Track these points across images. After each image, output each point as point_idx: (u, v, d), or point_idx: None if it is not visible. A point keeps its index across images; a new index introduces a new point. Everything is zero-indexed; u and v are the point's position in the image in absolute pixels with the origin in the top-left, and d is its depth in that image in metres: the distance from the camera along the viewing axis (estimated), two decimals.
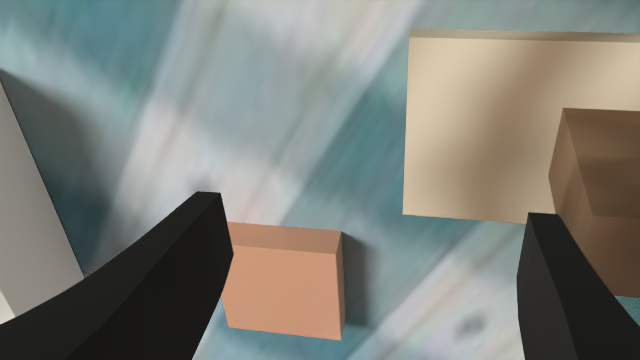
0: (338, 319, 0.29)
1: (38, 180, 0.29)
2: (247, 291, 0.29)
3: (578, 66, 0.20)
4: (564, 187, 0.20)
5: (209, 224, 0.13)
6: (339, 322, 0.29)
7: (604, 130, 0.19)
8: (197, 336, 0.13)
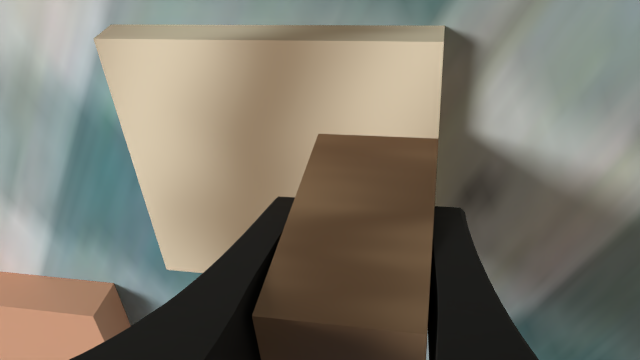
0: None
1: None
2: (11, 355, 0.23)
3: (321, 76, 0.14)
4: None
5: None
6: None
7: (354, 168, 0.14)
8: None
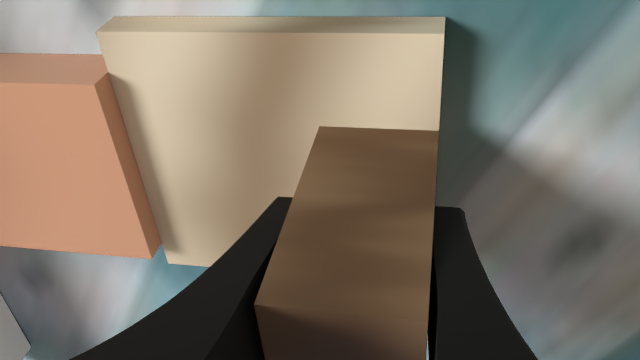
0: (137, 219, 0.17)
1: None
2: None
3: (322, 68, 0.14)
4: None
5: None
6: (141, 225, 0.17)
7: (355, 159, 0.14)
8: None
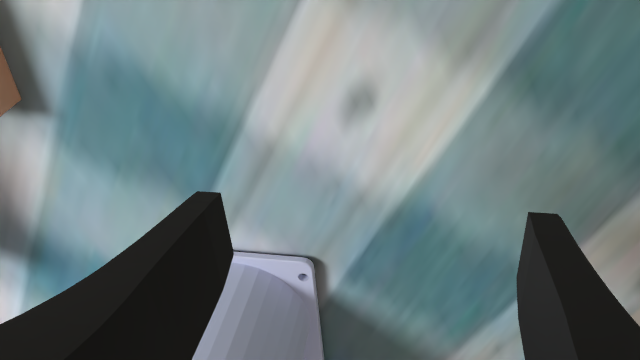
0: None
1: None
2: None
3: None
4: None
5: (209, 224, 0.13)
6: None
7: None
8: (197, 336, 0.13)
